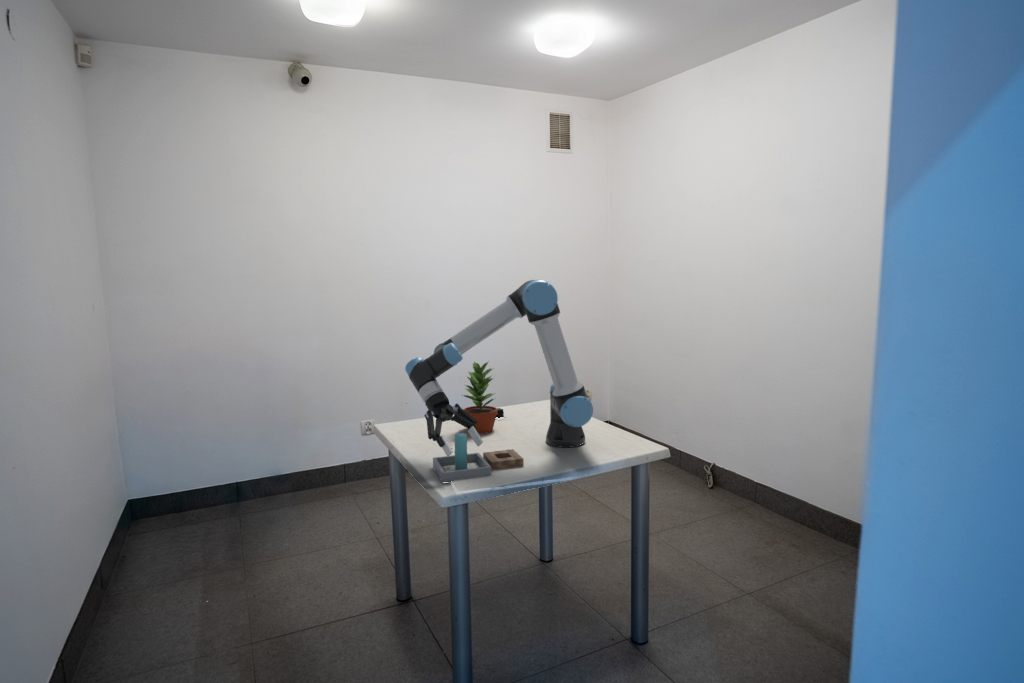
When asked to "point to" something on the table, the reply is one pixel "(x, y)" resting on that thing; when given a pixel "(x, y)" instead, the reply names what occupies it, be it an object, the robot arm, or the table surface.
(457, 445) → the ball
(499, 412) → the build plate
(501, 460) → the hole block
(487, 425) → the potted plant
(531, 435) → the table surface
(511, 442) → the table surface
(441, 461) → the tray
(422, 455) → the table surface
